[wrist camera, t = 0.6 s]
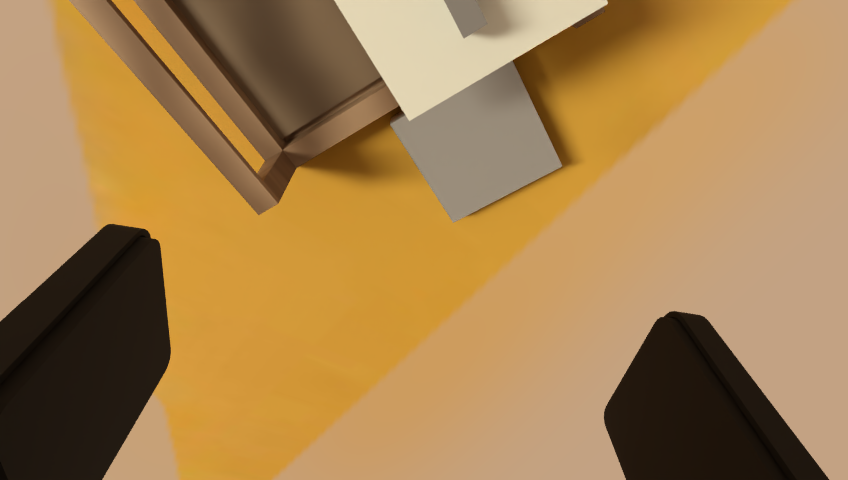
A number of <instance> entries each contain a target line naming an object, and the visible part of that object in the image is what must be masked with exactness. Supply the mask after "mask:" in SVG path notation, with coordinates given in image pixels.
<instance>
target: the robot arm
mask: <svg viewBox="0 0 848 480" xmlns="http://www.w3.org/2000/svg"><path fill="white" fill-rule="evenodd" d="M170 354H171V347H170V338H169V328H168V318H167V308H166V298H165V288H164V278H163V268H162V258H161V248H160V243H159V241H158V240H156V239H151V237H150V234H149V232H148V231H147V230H145V229H141V228H134V227H128V226H122V225H115V224H108V225H106V226H105V227H103V228H102V229H101V230H100V231H99V232H98V233H97V234H96V235H95V236H94V237H92V238H91V239H90V240H89V241H88V242H87V243H86V244H85V245H84V246H83V247H82V248H81V249H79V250H78V251H77V252H76V253H75V254H74V255H73V256H72V257H71V258H70V259H68V260H67V261H66V262H65V263H64V264H63V265H62V266H61V267H60V268H59V269H58V270H57V271H55V272H54V273H53V274H52V275H51V276H50V277H49V278H48V279H47V280H46V281H45V282H44V283H42V284H41V285H40V286H39V287H38V288H37V289H36V290H35V291H34V292H33V293H31V295H29V296H28V297H27V298H26V299H25V300H24V301H22V302H21V303H20V304H19V305H18V306H17V307H16V308H15V309H14V310H12V311H11V312H10V313H9V314H8V315H7V316H6V317H5V318H4V319H3V320H2V321H1V322H0V480H102V479H103V477H104V475H105V474H106V472H107V470H108V469H109V467H110V465H111V463H112V462H113V460H114V458H115V457H116V455H117V453H118V451H119V450H120V448H121V446H122V444H123V443H124V441H125V439H126V438H127V436H128V434H129V433H130V431H131V429H132V427H133V426H134V424H135V422H136V420H137V419H138V417H139V415H140V414H141V412H142V410H143V409H144V407H145V405H146V403H147V402H148V400H149V398H150V397H151V395H152V393H153V391H154V390H155V388H156V386H157V385H158V383H159V381H160V379H161V378H162V376H163V374H164V373H165V371H166V369H167V366H168V364H169V360H170ZM604 421H605V426H606V429H607V431H608V434H609V436H610V439H611V441H612V444H613V447H614V449H615V452H616V454H617V457H618V459H619V462H620V465H621V467H622V470H623V472H624V475H625V478H626V480H829V479H828V477H827V476H826V475H825V474H824V472H823V471H822V470H821V468H820V467H819V466H818V464H817V463H816V462H815V460H814V459H813V458H812V456H811V455H810V454H809V453H808V451H807V450H806V449H805V447H804V446H803V445H802V443H801V442H800V441H799V439H798V438H797V437H796V435H795V434H794V433H793V432H792V430H791V429H790V428H789V426H788V425H787V424H786V422H785V421H784V420H783V418H782V417H781V416H780V415H779V413H778V412H777V410H776V409H775V408H774V407H773V405H772V404H771V403H770V401H769V400H768V399H767V398H766V396H765V395H764V393H763V392H762V391H761V389H760V388H759V387H758V386H757V384H756V383H755V382H754V380H753V379H752V378H751V376H750V375H749V374H748V373H747V371H746V370H745V369H744V367H743V366H742V364H741V363H740V362H739V361H738V359H737V358H736V357H735V356H734V354H733V353H732V351H731V350H730V349H729V347H728V346H727V345H726V343H725V342H724V341H723V340H722V338H721V337H720V336H719V334H718V333H717V332H716V330H715V329H714V328H713V326H712V325H711V324H710V322H709V321H708V320H707V319H706V318H705V317H703V316H701V315H695V314H688V313H682V312H676V311H673V312H669V313H668V314H666V315H665V316H664V317H660V318H659V319H657V321H656V322H655V324H654V325H653V327H652V329H651V331H650V332H649V334H648V335H647V337H646V339H645V341H644V343H643V344H642V346H641V348H640V349H639V351H638V353H637V354H636V356H635V358H634V359H633V361H632V363H631V365H630V366H629V368H628V370H627V371H626V373H625V375H624V377H623V378H622V380H621V382H620V384H619V385H618V387H617V389H616V390H615V392H614V394H613V395H612V397H611V399H610V400H609V402H608V404H607V406H606V408H605V412H604Z"/></svg>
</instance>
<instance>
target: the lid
mask: <svg viewBox="0 0 848 480" xmlns="http://www.w3.org/2000/svg"><path fill="white" fill-rule="evenodd" d="M334 1H335V2H336V4H337V6H338V7H339V9H340V11H341V12H342V14H343V15H344V17H345V19H346V20H347V22H348V23H349V25H350V27H351V28H352V30H353V31H354V33H355V35H356V36H357V38H358V40H359V41H360V43H361V44H362V46H363V48H364V49H365V51H366V52H367V54H368V56H369V57H370V59H371V60H372V62H373V64H374V65H375V67H376V68H377V70H378V72H379V73H380V75H381V77H382V78H383V80H384V81H385V83H386V85H387V86H388V88H389V89H390V91H391V93H392V94H393V96H394V97H395V99H396V101H397V102H398V104H399V105H400V107H401V109H402V110H403V112H404V114H405V115H406V117H407V118H408V120H409V121H410V120H412V119H414V118H416V117H417V116H419V115H421V114H422V113H424V112H426V111H427V110H429V109H431V108H432V107H434V106H436V105H438V104H439V103H441V102H443V101H444V100H446V99H448V98H449V97H451V96H453V95H454V94H456V93H458V92H460V91H461V90H463V89H465V88H466V87H468V86H470V85H471V84H473V83H475V82H476V81H478V80H480V79H482V78H483V77H485V76H487V75H488V74H490V73H492V72H493V71H495V70H497V69H498V68H500V67H502V66H504V65H505V64H507V63H509V62H510V61H512V60H514V59H515V58H517V57H519V56H520V55H522V54H524V53H526V52H527V51H529V50H531V49H532V48H534V47H536V46H537V45H539V44H541V43H542V42H544V41H546V40H548V39H549V38H551V37H553V36H554V35H556V34H558V33H559V32H561V31H563V30H564V29H566V28H568V27H570V26H571V25H573V24H575V23H576V22H578V21H580V20H581V19H583V18H585V17H586V16H588V15H590V14H592V13H593V12H595V11H597V10H598V9H600V8H602V7H603V6H605V5H607V4H608V2H607V0H334Z"/></svg>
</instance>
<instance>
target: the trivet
mask: <svg viewBox="0 0 848 480" xmlns="http://www.w3.org/2000/svg"><path fill="white" fill-rule="evenodd" d="M390 125H391V127H392V128H393V130H394V131H395V133H396V135H397V136H398V138H399V139H400V141H401V142H402V144H403V145H404V147H405V149H406V150H407V152H408V153H409V155H410V156H411V158H412V159H413V161H414V162H415V164H416V166H417V167H418V169H419V170H420V172H421V173H422V175H423V176H424V178H425V180H426V181H427V183H428V184H429V186H430V187H431V189H432V190H433V192H434V193H435V195H436V197H437V198H438V200H439V201H440V203H441V204H442V206H443V207H444V209H445V210H446V212H447V214H448V215H449V217H450V218H451V220H452V221H453V223H454V222H456V221H458V220H459V219H461V218H463V217H465V216H467V215H469V214H471V213H473V212H475V211H477V210H479V209H481V208H483V207H485V206H487V205H489V204H490V203H492V202H494V201H496V200H498V199H500V198H502V197H504V196H506V195H508V194H510V193H512V192H514V191H516V190H518V189H520V188H521V187H523V186H525V185H527V184H529V183H531V182H533V181H535V180H537V179H539V178H541V177H543V176H545V175H547V174H549V173H551V172H552V171H554V170H556V169H558V168H560V167H562V164H561V162H560V160H559V158H558V156H557V154H556V151H555V149H554V147H553V145H552V143H551V141H550V139H549V137H548V135H547V132H546V130H545V128H544V126H543V124H542V122H541V120H540V118H539V116H538V113H537V111H536V109H535V107H534V105H533V103H532V101H531V99H530V97H529V94H528V92H527V90H526V88H525V86H524V84H523V82H522V80H521V78H520V75H519V73H518V71H517V69H516V67H515V65H514V63H513V61H510V62H509V63H507V64H505V65H504V66H502V67H500V68H498V69H497V70H495V71H493V72H492V73H490V74H488V75H487V76H485V77H483V78H482V79H480V80H478V81H476V82H475V83H473V84H471V85H470V86H468V87H466V88H465V89H463V90H461V91H460V92H458V93H456V94H454V95H453V96H451V97H449V98H448V99H446V100H444V101H443V102H441V103H439V104H438V105H436V106H434V107H432V108H431V109H429V110H427V111H426V112H424V113H422V114H421V115H419V116H417V117H416V118H414V119H412V120H410V121H409V120H408V118H407V117H406V115H405V114H404V112H403V111H401V112H400V113H398V114H396V115H395V116H393V117H391V121H390Z"/></svg>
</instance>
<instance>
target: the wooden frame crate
mask: <svg viewBox="0 0 848 480" xmlns="http://www.w3.org/2000/svg"><path fill="white" fill-rule="evenodd" d="M69 1H70V2H71V3H72V4H73V5H74V6H75V8H76V9H77V10H78V11H79V12H80V13H81V14H82V15H83V17H84V18H85V19H86V20H87V21H88V22H89V23H90V25H91V26H92V27H93V28H94V29H95V30H96V31H97V32H98V34H99V35H100V36H101V37H102V38H103V39H104V40H105V42H106V43H107V44H108V45H109V46H110V47H111V48H112V49H113V51H114V52H115V53H116V54H117V55H118V56H119V57H120V59H121V60H122V61H123V62H124V63H125V64H126V65H127V66H128V68H129V69H130V70H131V71H132V72H133V73H134V74H135V75H136V77H137V78H138V79H139V80H140V81H141V82H142V83H143V85H144V86H145V87H146V88H147V89H148V90H149V91H150V92H151V94H152V95H153V96H154V97H155V98H156V99H157V100H158V102H159V103H160V104H161V105H162V106H163V107H164V108H165V109H166V111H167V112H168V113H169V114H170V115H171V116H172V117H173V119H174V120H175V121H176V122H177V123H178V124H179V125H180V126H181V128H182V129H183V130H184V131H185V132H186V133H187V134H188V136H189V137H190V138H191V139H192V140H193V141H194V142H195V143H196V145H197V146H198V147H199V148H200V149H201V150H202V151H203V153H204V154H205V155H206V156H207V157H208V158H209V159H210V160H211V162H212V163H213V164H214V165H215V166H216V167H217V168H218V170H219V171H220V172H221V173H222V174H223V175H224V176H225V177H226V179H227V180H228V181H229V182H230V183H231V184H232V185H233V187H234V188H235V189H236V190H237V191H238V192H239V193H240V194H241V196H242V197H243V198H244V199H245V200H246V201H247V202H248V204H249V205H250V206H251V207H252V208H253V209H254V210H255V211H256V213H257V214H258V215H260V214H261V213H263V212H265V211H266V210H268V209H270V208H272V207H273V206H275V205H277V204H278V203H279V201H280V199H281V197H282V195H283V193H284V191H285V189H286V187H287V185H288V183H289V181H290V179H291V177H292V176H293V174H294V172H295V170H296V168H297V167H299V166H300V165H302V164H304V163H305V162H307V161H309V160H310V159H312V158H314V157H315V156H317V155H319V154H320V153H322V152H324V151H325V150H327V149H328V148H330V147H332V146H333V145H335V144H337V143H338V142H340V141H342V140H343V139H345V138H347V137H348V136H350V135H352V134H353V133H355V132H357V131H358V130H360V129H362V128H363V127H365V126H367V125H368V124H370V123H372V122H373V121H375V120H377V119H378V118H380V117H381V116H383V115H385V114H386V113H388V112H390V111H391V110H393V109H395V108H396V107H398V106H400V105H399V104H398V102H397V101H396V99H395V97H394V96H393V94H392V93H391V91H390V89H389V88H388V86H387V85H386V83H385V81H384V80H383V78H382V77H381V75H380V73H379V72H378V70H377V68H376V67H375V65H374V64H373V62H372V60H371V59H370V57H369V56H368V54H367V52H366V51H365V49H364V48H363V46H362V44H361V43H360V41H359V40H358V38H357V36H356V35H355V33H354V31H353V30H352V28H351V27H350V25H349V23H348V22H347V20H346V19H345V17H344V15H343V14H342V12H341V11H340V9H339V7H338V6H337V4H336V2H335V1H334V0H134V1H135V2H136V4H137V5H138V6H139V7H140V9H141V10H142V11H143V12H144V13H145V15H146V16H147V17H148V18H149V20H150V21H151V22H152V23H153V24H154V26H155V27H156V28H157V29H158V31H159V32H160V33H161V34H162V35H163V37H164V38H165V39H166V40H167V42H168V43H169V44H170V45H171V46H172V48H173V49H174V50H175V51H176V53H177V54H178V55H179V56H180V57H181V59H182V60H183V61H184V62H185V64H186V65H187V66H188V67H189V68H190V70H191V71H192V72H193V73H194V75H195V76H196V77H197V78H198V79H199V81H200V82H201V83H202V84H203V86H204V87H205V88H206V89H207V90H208V92H209V93H210V94H211V95H212V97H213V98H214V99H215V100H216V101H217V103H218V104H219V105H220V106H221V107H222V109H223V110H224V111H225V112H226V114H227V115H228V116H229V117H230V118H231V120H232V121H233V122H234V123H235V125H236V126H237V127H238V128H239V129H240V131H241V132H242V133H243V134H244V136H245V137H246V138H247V139H248V140H249V142H250V143H251V144H252V145H253V147H254V148H255V149H256V150H257V151H258V153H259V154H260V155H261V156H262V158H263V159H264V160H265V162H264V164H263V165H262V167H261V168H260V170H259V171H258V173H256V172H255V171H254V169H253V168H252V167H251V166H250V165H249V163H248V162H247V161H246V160H245V159H244V158H243V156H242V155H241V154H240V153H239V152H238V150H237V149H236V148H235V147H234V146H233V144H232V143H231V142H230V141H229V140H228V139H227V137H226V136H225V135H224V134H223V133H222V131H221V130H220V129H219V128H218V127H217V125H216V124H215V123H214V122H213V121H212V120H211V118H210V117H209V116H208V115H207V114H206V112H205V111H204V110H203V109H202V108H201V106H200V105H199V104H198V103H197V102H196V100H195V99H194V98H193V97H192V96H191V95H190V93H189V92H188V91H187V90H186V89H185V87H184V86H183V85H182V84H181V83H180V81H179V80H178V79H177V78H176V77H175V76H174V74H173V73H172V72H171V71H170V70H169V68H168V67H167V66H166V65H165V64H164V62H163V61H162V60H161V59H160V58H159V57H158V55H157V54H156V53H155V52H154V51H153V49H152V48H151V47H150V46H149V45H148V43H147V42H146V41H145V40H144V39H143V37H142V36H141V35H140V34H139V33H138V32H137V30H136V29H135V28H134V27H133V26H132V24H131V23H130V22H129V21H128V20H127V18H126V17H125V16H124V15H123V14H122V13H121V11H120V10H119V9H118V8H117V7H116V5H115V4H114V3H113V2H112V1H111V0H69ZM603 12H605V10H604V7H602V8H600V9H598V10H597V11H595V12H593V13H592V14H590V15H588V16H586V17H585V18H583V19H581V20H580V21H578V22H576V23H575V24H573V25H571V26H573V27H575V28H578V27H579V26H581V25H583V24H585V23H586V22H588V21H590V20H591V19H593V18H595V17H597V16H598V15H600V14H602V13H603Z"/></svg>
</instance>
